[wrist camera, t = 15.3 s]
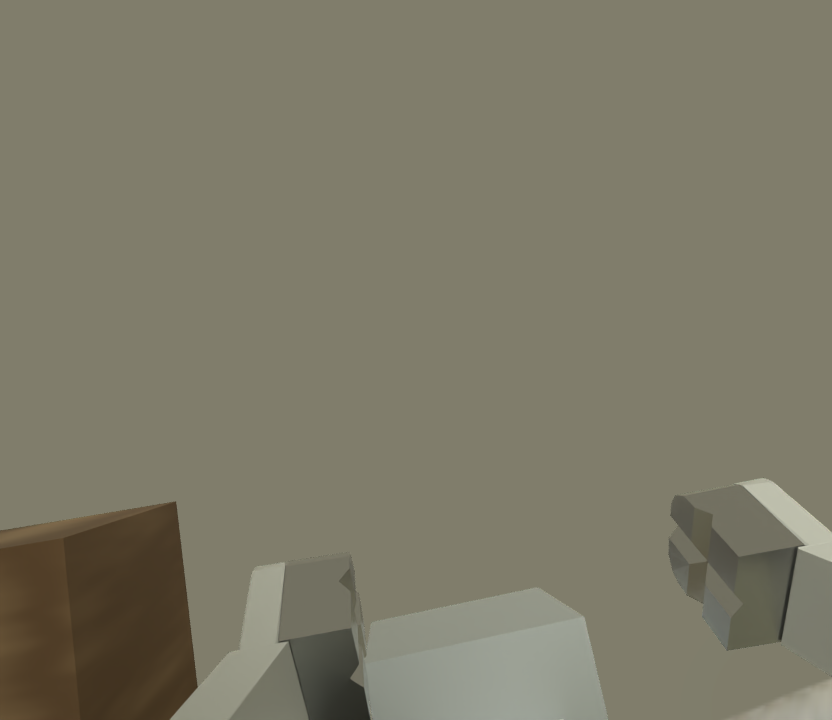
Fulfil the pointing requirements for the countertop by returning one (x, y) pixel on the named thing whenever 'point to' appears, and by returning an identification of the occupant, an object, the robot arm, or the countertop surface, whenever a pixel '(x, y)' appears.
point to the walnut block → (95, 618)
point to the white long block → (485, 662)
